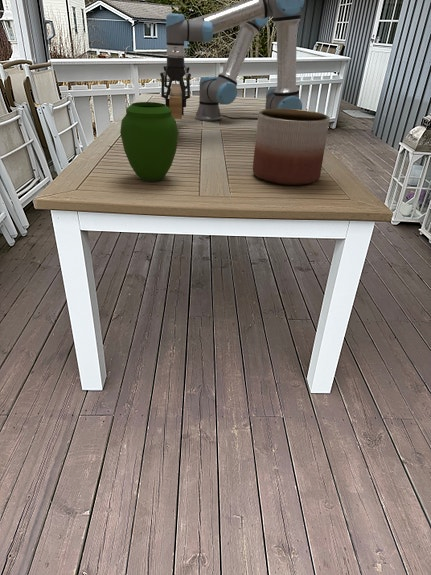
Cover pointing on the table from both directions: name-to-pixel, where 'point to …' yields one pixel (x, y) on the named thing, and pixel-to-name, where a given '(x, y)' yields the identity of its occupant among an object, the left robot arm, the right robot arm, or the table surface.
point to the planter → (290, 146)
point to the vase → (149, 139)
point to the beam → (175, 101)
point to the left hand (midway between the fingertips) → (176, 102)
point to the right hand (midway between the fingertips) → (175, 114)
